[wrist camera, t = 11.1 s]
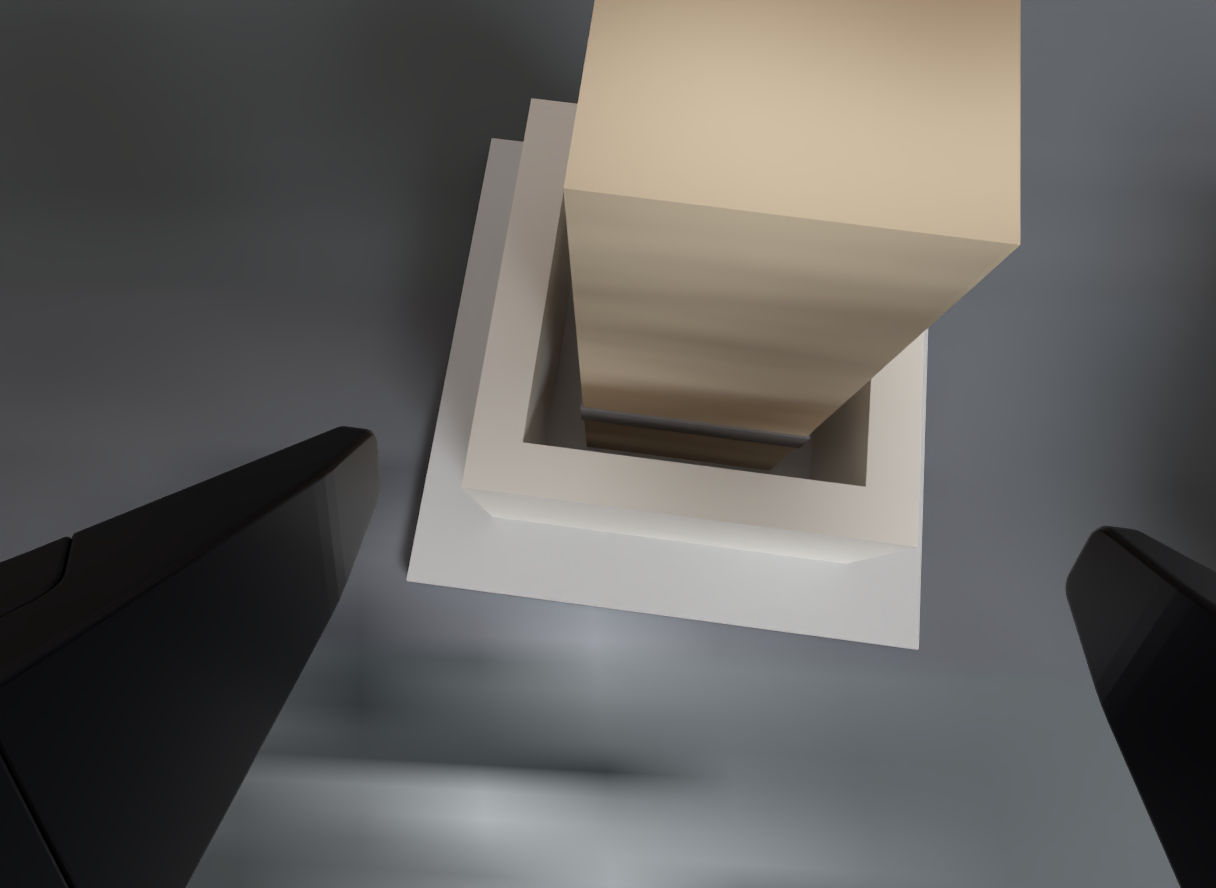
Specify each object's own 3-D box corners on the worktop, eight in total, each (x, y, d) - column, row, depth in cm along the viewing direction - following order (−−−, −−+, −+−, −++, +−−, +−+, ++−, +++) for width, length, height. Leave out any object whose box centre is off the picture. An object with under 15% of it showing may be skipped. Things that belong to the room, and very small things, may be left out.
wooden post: (771, 473, 18) (1024, 249, 7) (584, 448, 18) (558, 192, 7) (785, 300, 19) (1025, -120, 8) (609, 277, 19) (618, -165, 8)
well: (909, 648, 17) (1013, 658, 13) (411, 582, 18) (348, 569, 13) (924, 201, 20) (1013, 85, 16) (494, 149, 20) (465, 20, 16)
